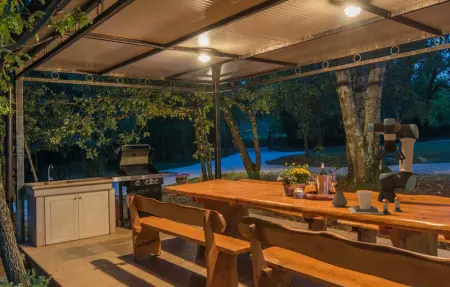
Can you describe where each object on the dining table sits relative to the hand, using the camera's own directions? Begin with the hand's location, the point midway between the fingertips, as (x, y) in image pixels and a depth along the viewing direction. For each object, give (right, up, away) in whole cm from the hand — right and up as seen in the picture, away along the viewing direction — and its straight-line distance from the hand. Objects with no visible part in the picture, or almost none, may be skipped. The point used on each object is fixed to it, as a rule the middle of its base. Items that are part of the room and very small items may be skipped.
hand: (390, 169), depth 271 cm
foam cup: (-21, -28, -8) cm, 36 cm away
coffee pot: (-28, -30, +20) cm, 45 cm away
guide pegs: (-5, -29, -13) cm, 32 cm away
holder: (-21, -29, -8) cm, 37 cm away
